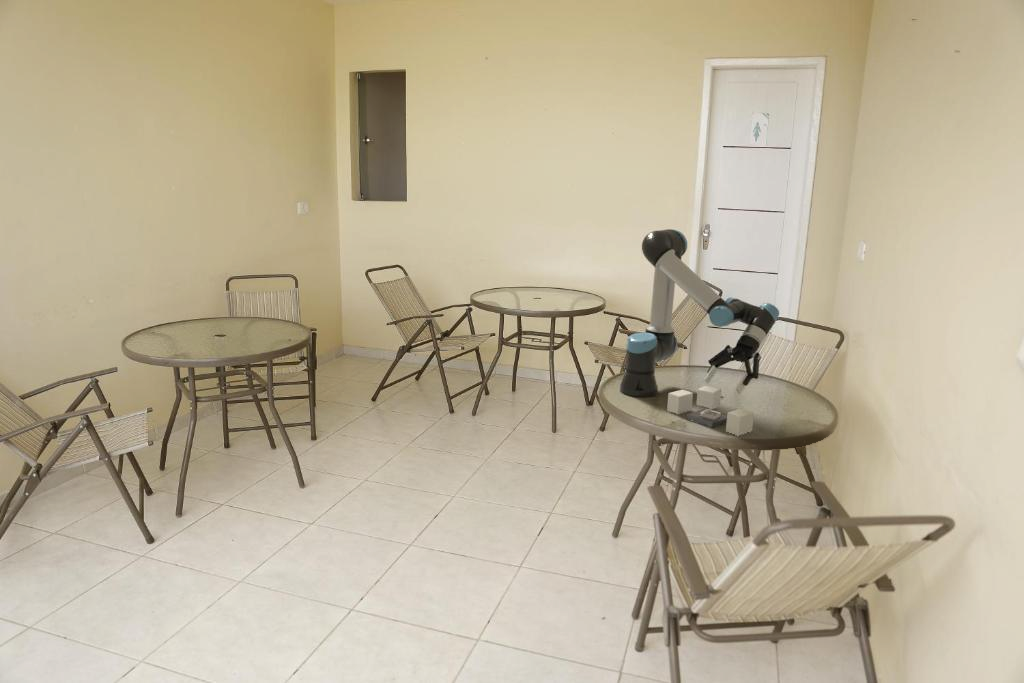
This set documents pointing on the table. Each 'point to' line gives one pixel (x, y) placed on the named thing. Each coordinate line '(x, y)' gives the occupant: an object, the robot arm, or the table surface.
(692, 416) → the mount plate
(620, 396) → the table surface
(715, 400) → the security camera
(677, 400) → the mounted modules
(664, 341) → the robot arm
